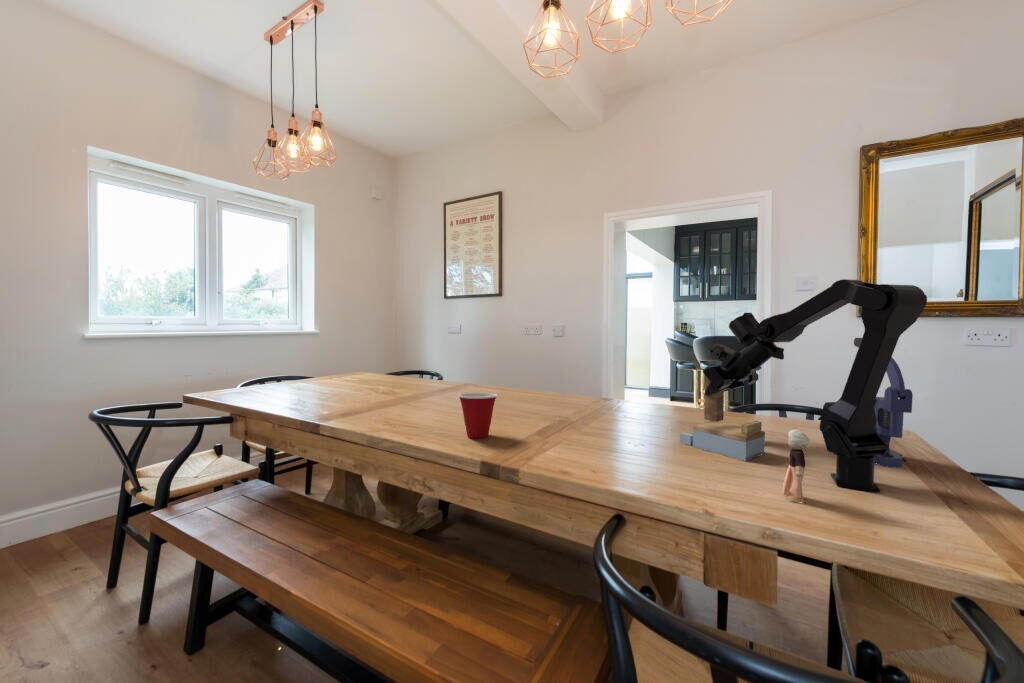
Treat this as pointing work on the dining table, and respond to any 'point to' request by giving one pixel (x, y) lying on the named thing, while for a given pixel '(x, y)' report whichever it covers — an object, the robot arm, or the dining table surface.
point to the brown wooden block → (713, 404)
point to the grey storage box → (724, 444)
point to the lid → (732, 430)
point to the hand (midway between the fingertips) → (709, 393)
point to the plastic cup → (477, 413)
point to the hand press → (891, 412)
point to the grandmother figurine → (795, 466)
